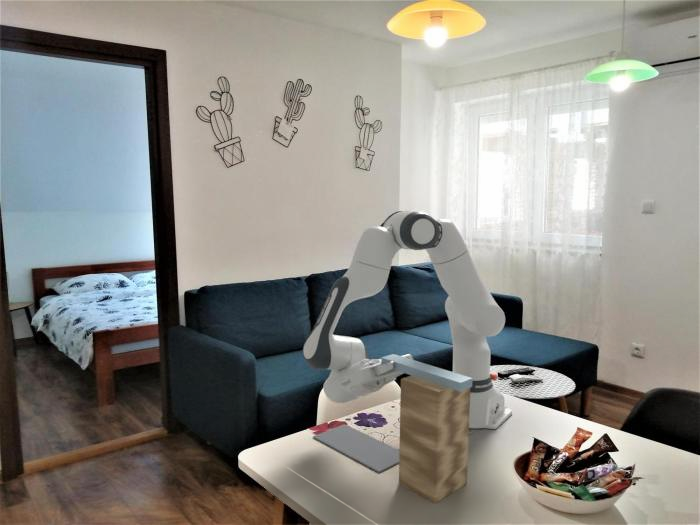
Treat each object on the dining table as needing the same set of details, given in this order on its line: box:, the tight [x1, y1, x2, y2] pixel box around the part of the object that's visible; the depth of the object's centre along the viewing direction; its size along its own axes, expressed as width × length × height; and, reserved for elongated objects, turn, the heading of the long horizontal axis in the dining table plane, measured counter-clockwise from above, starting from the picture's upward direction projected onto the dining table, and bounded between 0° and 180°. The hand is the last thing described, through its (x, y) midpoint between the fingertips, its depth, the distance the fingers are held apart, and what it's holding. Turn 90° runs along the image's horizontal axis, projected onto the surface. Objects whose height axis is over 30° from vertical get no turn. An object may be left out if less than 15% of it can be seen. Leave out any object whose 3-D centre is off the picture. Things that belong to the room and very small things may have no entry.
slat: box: [380, 353, 473, 392], centre depth 128 cm, size 4×24×2 cm, turn 43°
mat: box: [312, 423, 399, 474], centre depth 147 cm, size 12×26×1 cm, turn 43°
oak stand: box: [398, 375, 470, 504], centre depth 127 cm, size 12×11×26 cm
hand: (401, 362), depth 133 cm, fingers closed on slat, 4 cm apart
